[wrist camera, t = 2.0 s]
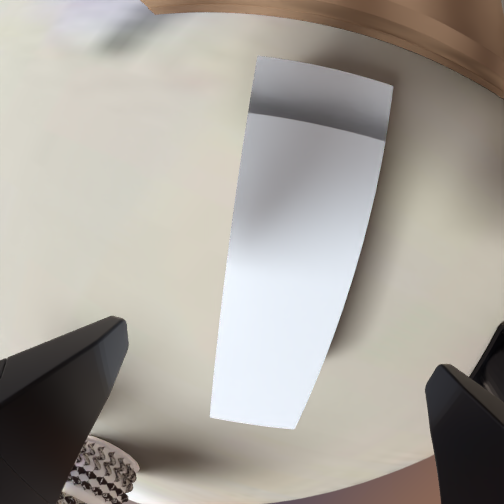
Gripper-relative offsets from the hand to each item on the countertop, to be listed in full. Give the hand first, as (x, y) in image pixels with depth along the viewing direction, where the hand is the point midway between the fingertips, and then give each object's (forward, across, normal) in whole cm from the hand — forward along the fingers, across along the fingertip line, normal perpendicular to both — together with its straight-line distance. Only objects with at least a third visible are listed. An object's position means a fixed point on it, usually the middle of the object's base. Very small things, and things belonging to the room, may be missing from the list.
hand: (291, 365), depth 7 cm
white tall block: (+9, 0, 0) cm, 9 cm away
